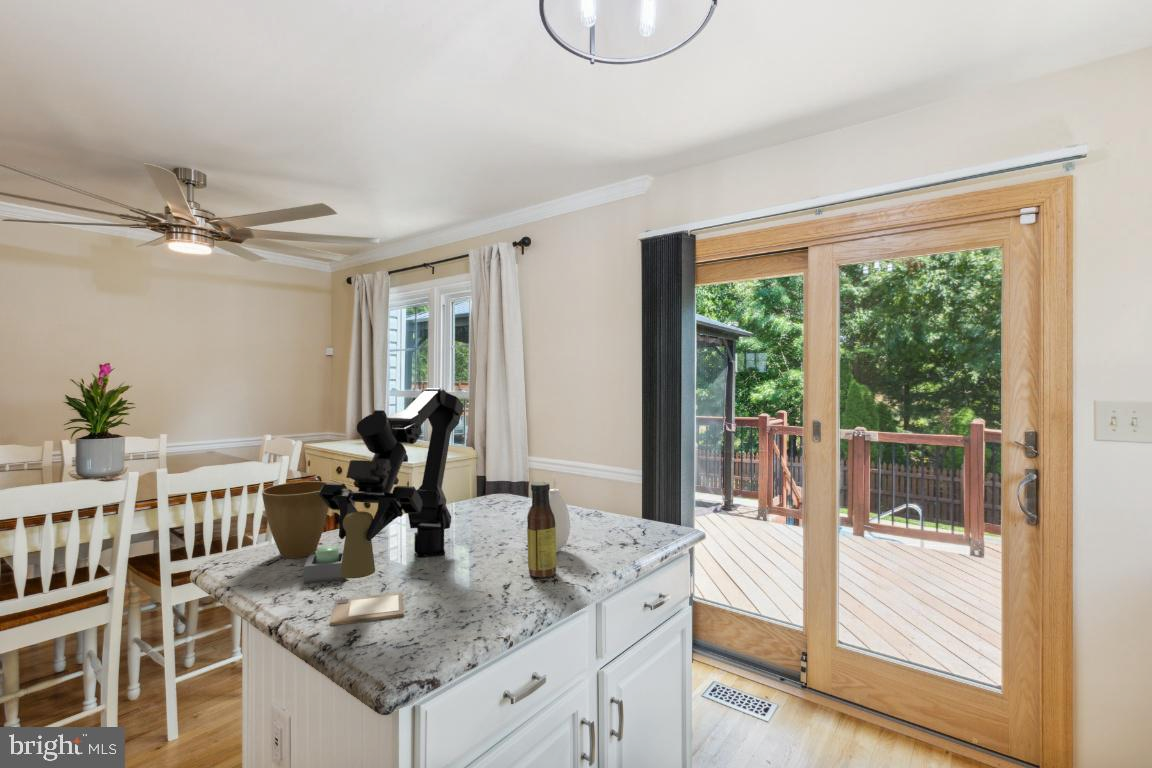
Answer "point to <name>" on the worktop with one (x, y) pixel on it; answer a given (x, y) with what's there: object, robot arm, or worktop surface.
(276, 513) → the plant pot
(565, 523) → the white vase
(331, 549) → the button
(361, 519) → the cork
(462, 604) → the worktop surface
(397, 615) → the tan rectangular board
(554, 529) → the sauce bottle
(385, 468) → the robot arm
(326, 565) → the button housing
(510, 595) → the worktop surface
